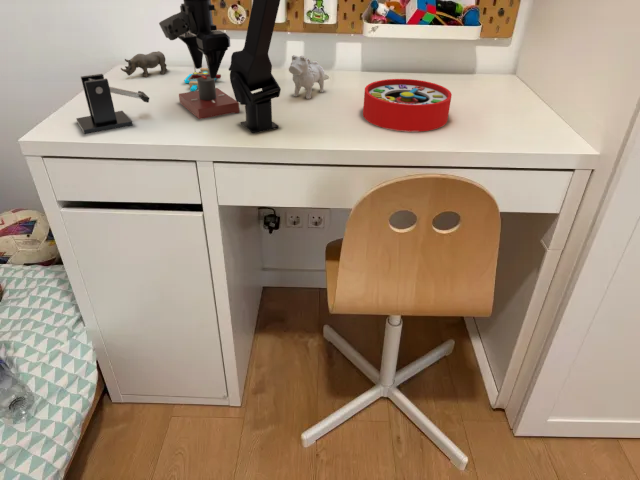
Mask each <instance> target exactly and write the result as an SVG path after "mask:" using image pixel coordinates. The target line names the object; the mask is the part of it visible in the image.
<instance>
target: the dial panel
mask: <svg viewBox="0 0 640 480" xmlns="http://www.w3.org/2000/svg"><path fill="white" fill-rule="evenodd" d="M178 98H179V104H181V106H183V107H184V108H185V109H187V110H188V111H189V112H190V113H191V114H192V115H194V116H195V117H196V118H197V119H198V120H202V119H207V118H213V117H218V116H224V115H229V114H239V113H240V102H237V101H236V99H235V98H233V97H231V96H230V95H229V94H227V93H226V92H225V91H223V90H221V89H220V88H218V87H216V99H213V100H201V99H200V98H199V90H195V91H188V92H180V93H178Z"/></svg>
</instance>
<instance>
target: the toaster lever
mask: <svg viewBox="0 0 640 480" xmlns="http://www.w3.org/2000/svg"><path fill="white" fill-rule="evenodd" d="M91 80H95V79H90V78H89V80H88V81H91ZM109 88H110V92H111V94H116V95H121V96H125V97H130V98H135V99H139V100H142V102H144V103H150V97H149V96H148V95H147V94H146V93H145V92H144V91H142V90H138V91H137V92H136V91H132V90H127V89H122V88H118V87H113V86H109Z"/></svg>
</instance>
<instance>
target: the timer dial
mask: <svg viewBox="0 0 640 480" xmlns="http://www.w3.org/2000/svg"><path fill="white" fill-rule="evenodd" d="M197 82H198V89H197V91H199V98H200V99H201V100H213V99H216V88H217V87H216V80H215V78H210V76H204V75H202V77H199V78H198V79H197Z"/></svg>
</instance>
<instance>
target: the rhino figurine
mask: <svg viewBox="0 0 640 480" xmlns="http://www.w3.org/2000/svg"><path fill="white" fill-rule="evenodd" d="M124 62H126V63H127V64H128V65H126V66H125V65H124V68H122V67H120V70H121V71H122V72H124V73H125V74H126V75H127V76H128V77H129V76H131V75H132V74H134V73H135V72H136V71H137V69H138V68H140V69H141V70H142V71H143V72H142V75H143V77H144V78H147V77H149V74H148V73H149V71H148V69H154V68H156V67H158V66H160V71H159V74H160V75H165V74H166V72H168V68H167V66H168V65H167V63H166V56H165V54H164V52H162V51H159V50H157V51H152V52H149V53H145V54H144V53H137V54H135V55H134V56H133V57H131V58H130V59H127V58H124Z"/></svg>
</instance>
